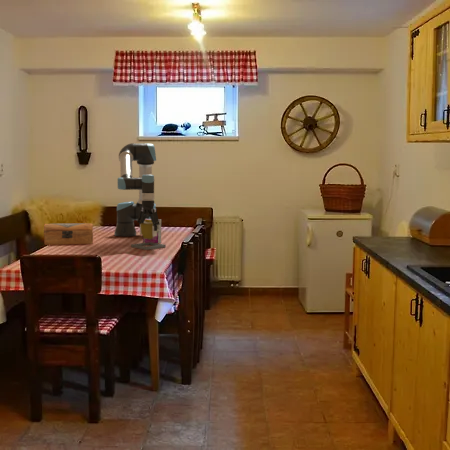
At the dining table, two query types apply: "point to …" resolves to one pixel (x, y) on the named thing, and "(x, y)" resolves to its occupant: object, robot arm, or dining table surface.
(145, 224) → the flower pot
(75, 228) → the wooden box
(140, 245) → the plant tray
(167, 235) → the dining table surface
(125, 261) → the dining table surface
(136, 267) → the dining table surface
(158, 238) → the candy bar box
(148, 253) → the dining table surface
